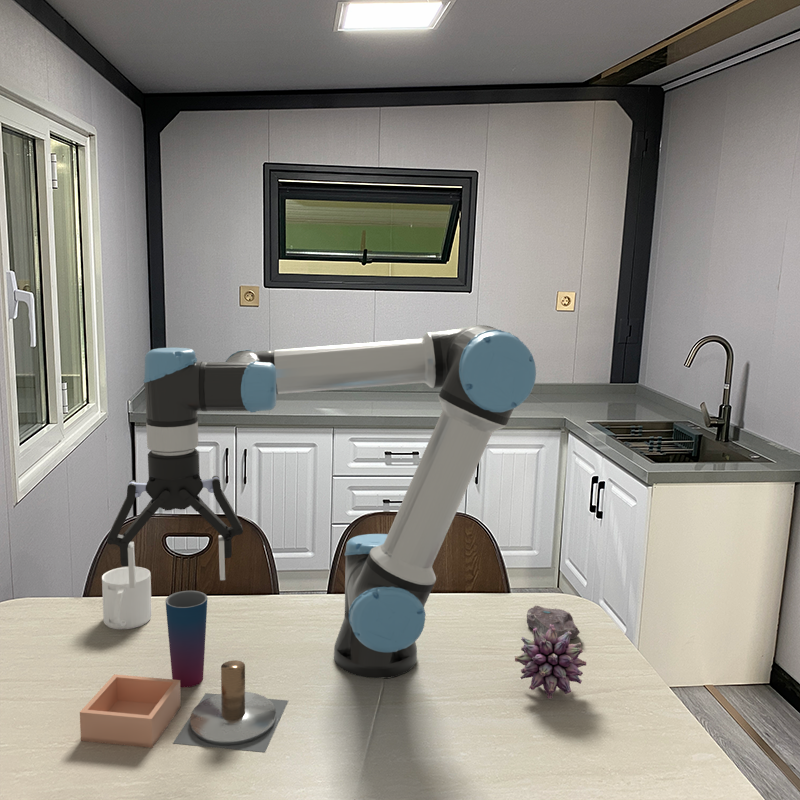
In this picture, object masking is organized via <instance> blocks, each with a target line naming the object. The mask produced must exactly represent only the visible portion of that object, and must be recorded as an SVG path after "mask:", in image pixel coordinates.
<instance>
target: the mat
mask: <svg viewBox="0 0 800 800" xmlns="http://www.w3.org/2000/svg"><path fill="white" fill-rule="evenodd" d="M218 694H219V693H218ZM218 694H217V693H211V692H210V693H209V692H205V693H204V694H203V696H202V698H201V699H200V701H199V703H201V702H202V701H204V700H206V699H208V698H210V697H212V696H215V695H218ZM268 699H269V700H270V701H271V702H272V703H273V704H274V706H275V710H276V719H275V724H274V726H273V727H272V729H271V730H270V731H269V732H268V733H267V734H265V735H264V736H262V737H261V738H259V739H257V740H254V741H252V742H249V743H245V744H241V745H234V746H219V745H213V744H209V743H206V742H203V741H201V740H200V739H198V738H197V737H196V736H195V735H194V734H193V733H192V731H191V727H190V717H189V718H188V720H187V721H186V722H185V724H184V725H183V727H182V729H181V730H180V731H179V733H178V735H177V736H176V737H175V739H174V740H173V742H172V744H173V745H182V746H183V745H185V746H195V747H196V746H197V747H206V748H214V749H215V748H216V749H225V750H237V751H247V752H249V751H250V752H257V753H266V752H267V751H266V750H267V749H268V746H269V744H270V742H271V740H272V738H273V736H274V733H275V731H276V729H277V727H278V725H279V722H280V720H281V718H282V716H283V714H284V712H285V709H286V707H287V705H288V703H289V700H288V699H277V698H275V699H274V698H268ZM199 703H198V704H199Z"/></svg>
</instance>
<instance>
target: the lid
mask: <svg viewBox="0 0 800 800" xmlns="http://www.w3.org/2000/svg"><path fill="white" fill-rule="evenodd" d="M220 680H221V682H220V683H221V688H220V689H221V690H220V691H221V692H220V693H218V695H215V696H212V697H210V698H208V699H206V700H204V701H202V702H201V703H198V704H197V705H196V706H195V707H194V708H193V710H192V711H191V714H190V716H189V718H190V727H191V731H192V733H193V734H194V735H195V736H196V737H197V738H198V739H200V740H201V741H203V742H206V743H209V744H213V745H219V746H234V745H241V744H245V743H249V742H252V741H254V740H257V739H259V738H261V737H262V736H264V735H265V734H267V733H268V732H269V731H270V730H271V729H272V727H273V726H274V724H275V719H276V710H275V706H274V704H273V703H272V702H271V701H270V700H269V699H270V698H268V697H266V696H264V695H262V694H259V693H256V692H251V691H250V692H249V691H246V664H245V663H244V662H243V661H242V660H234V659H233V660H228V661H225V662H223V663H222V664H221V667H220Z"/></svg>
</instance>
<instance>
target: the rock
mask: <svg viewBox="0 0 800 800" xmlns="http://www.w3.org/2000/svg"><path fill="white" fill-rule="evenodd" d="M573 618H574V617H573V616H572V614H571V613H570V612H568V611H566V610H564V609H560V608H546V607H543V606H540V605H534V606H532V607H531V608H529V609H527V613H526V624H527V625H528V627H529V628H531V629H532V630H533V629H535V628H537V629H538V631H539V632H541V633H542V634H544V635H545V637H546V633H547V631H548V630H549V628H550V624H551V625H554V628H555V629H556V633H557V637H558V638H559V637H560V636H562V635H564V634H565V633H566V632H568V631H569V632H571V633H572V634H571V636H570V640H573V639H576V638H578V635H579V634H580V633H581V632H580V630H579V629H578V626H576V624H575V623H574V619H573Z"/></svg>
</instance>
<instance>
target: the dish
mask: <svg viewBox="0 0 800 800" xmlns="http://www.w3.org/2000/svg"><path fill="white" fill-rule="evenodd" d="M181 696H182V695H181V687H180V680H173V679H172V678H171V679H169V678H162V677H159V678H157V677H149V676H138V675H125V674H113V675H112V676H111V677H110V678H109V680H107V682H105V684H104V685H103V686H102V687H101V688H100V689H99V691H97V693H95V695H94V696H93V697H92V698H91V699H90V700H89V701H88V703H86V705H85V706H84V707H83V708H82V709H81V710H80V711H79V724H80V728H79V729H80V731H79V732H80V741H81V742H86V743H95V744H96V743H99V744H108V745H116V746H128V747H129V746H130V747H139V748H146V749H147V748H149V749H153V748H154V746H155V745H156V743H157V742H158V741H159V740H160V738H161V736H162V735H163V733H164V732H165V730H166V729H167V727H168V726H169V725H170V724H171V722H172V720H173V719H174V717H175V716H176V714H178V711H179V710H180V709H181V707H182V706H181V698H182V697H181Z"/></svg>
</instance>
